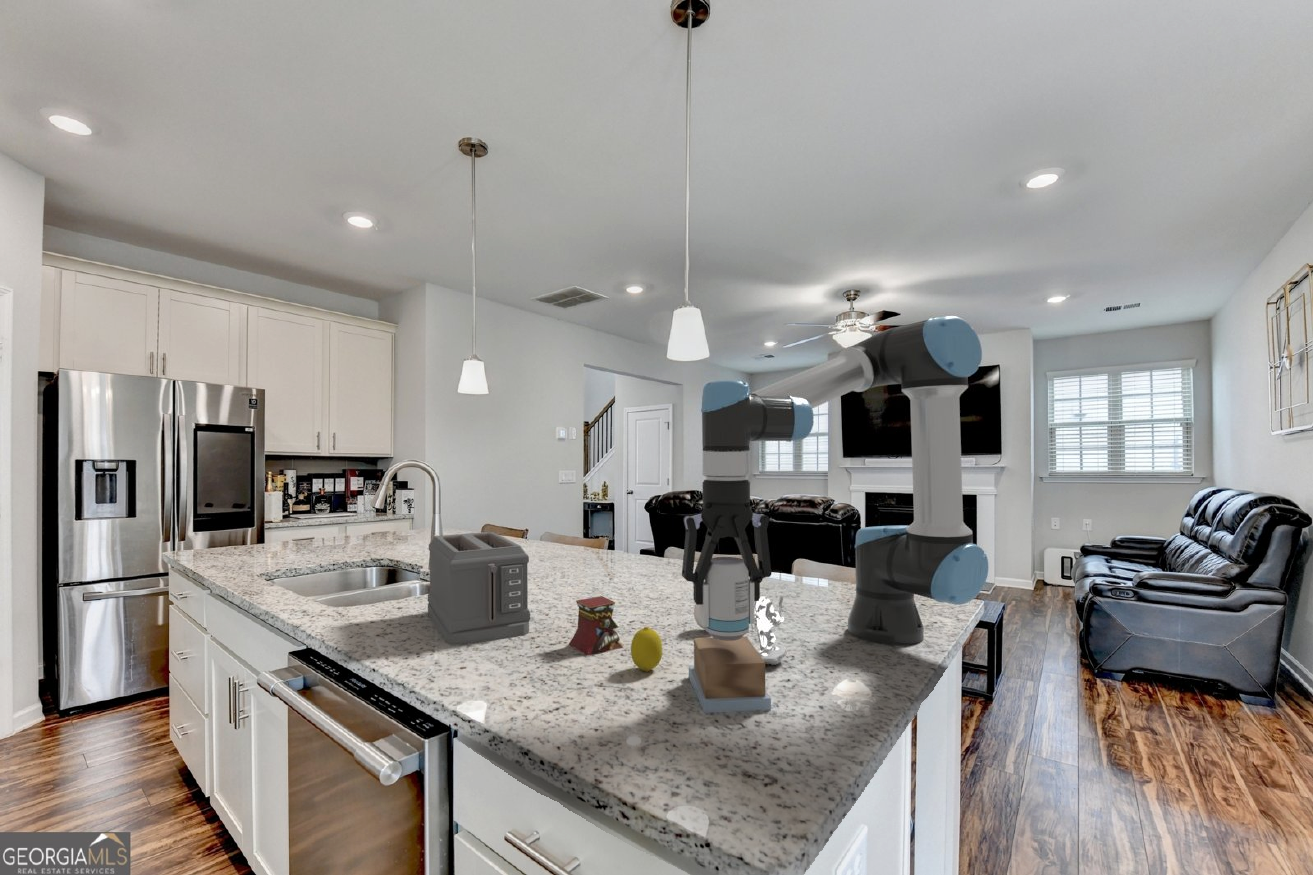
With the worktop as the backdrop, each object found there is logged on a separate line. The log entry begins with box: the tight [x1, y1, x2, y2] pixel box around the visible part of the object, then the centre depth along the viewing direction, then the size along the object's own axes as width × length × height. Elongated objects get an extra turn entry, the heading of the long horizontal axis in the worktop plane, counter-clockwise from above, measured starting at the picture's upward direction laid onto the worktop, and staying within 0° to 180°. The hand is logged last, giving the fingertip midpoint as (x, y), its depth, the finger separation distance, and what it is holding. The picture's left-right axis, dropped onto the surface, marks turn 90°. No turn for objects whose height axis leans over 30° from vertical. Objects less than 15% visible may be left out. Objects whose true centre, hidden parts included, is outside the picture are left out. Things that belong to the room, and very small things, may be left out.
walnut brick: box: [693, 636, 766, 699], centre depth 93 cm, size 9×12×5 cm
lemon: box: [630, 626, 663, 672], centre depth 103 cm, size 6×6×8 cm
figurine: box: [750, 595, 787, 666], centre depth 107 cm, size 9×6×12 cm
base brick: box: [688, 664, 772, 714], centre depth 93 cm, size 10×14×3 cm
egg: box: [693, 603, 705, 630], centre depth 127 cm, size 6×6×8 cm
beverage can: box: [704, 556, 750, 641], centre depth 93 cm, size 7×7×12 cm
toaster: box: [427, 531, 531, 646], centre depth 131 cm, size 17×31×19 cm, turn 30°
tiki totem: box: [568, 595, 624, 656], centre depth 116 cm, size 9×9×9 cm
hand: (727, 622), depth 93 cm, fingers closed on beverage can, 7 cm apart
